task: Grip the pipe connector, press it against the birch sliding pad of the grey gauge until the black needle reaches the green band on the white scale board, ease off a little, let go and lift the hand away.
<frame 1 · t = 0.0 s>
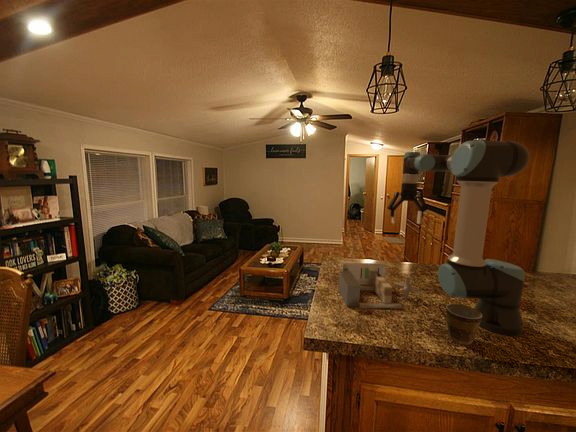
hand: (405, 223, 144), 28 cm above the counter, tool pointing down, fingers open, 13 cm apart
ceramic cup: (455, 337, 92), on the counter
gauge pad: (381, 287, 120), point 4 cm above the counter, slide at 0.0 cm
pipe connector: (406, 298, 119), on the counter
gauge frame: (369, 297, 119), on the counter
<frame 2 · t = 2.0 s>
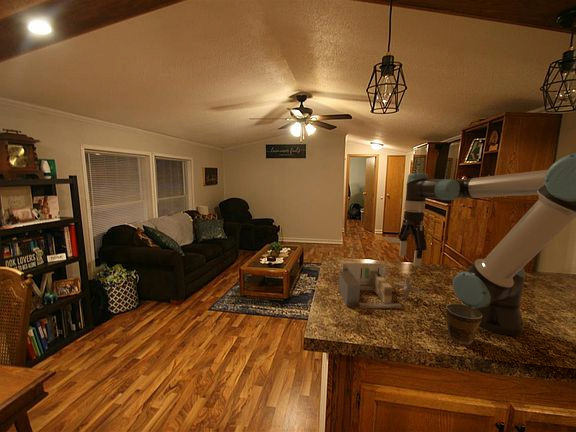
hand: (409, 260, 117), 17 cm above the counter, tool pointing down, fingers open, 13 cm apart
nothing on the counter moved.
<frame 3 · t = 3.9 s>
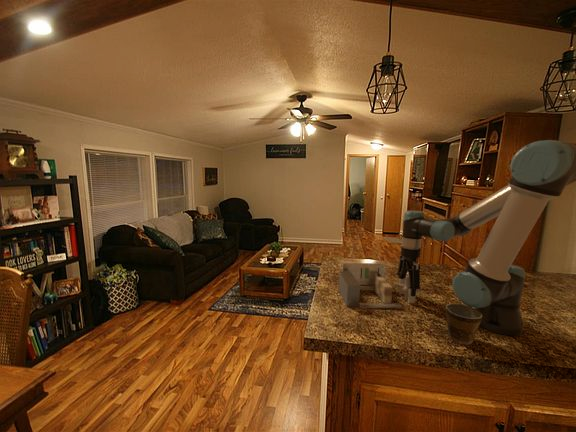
hand: (406, 297, 119), 0 cm above the counter, tool pointing down, fingers closed on pipe connector, 9 cm apart
pipe connector: (406, 298, 119), on the counter, touching gripper
everything else where it was.
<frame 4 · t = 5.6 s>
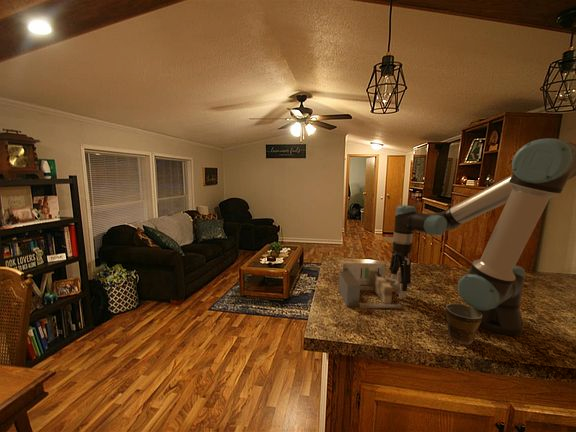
hand: (397, 292, 119), 3 cm above the counter, tool pointing down, fingers closed on pipe connector, 9 cm apart
pipe connector: (397, 293, 119), point 2 cm above the counter, touching gripper
everything else where it was.
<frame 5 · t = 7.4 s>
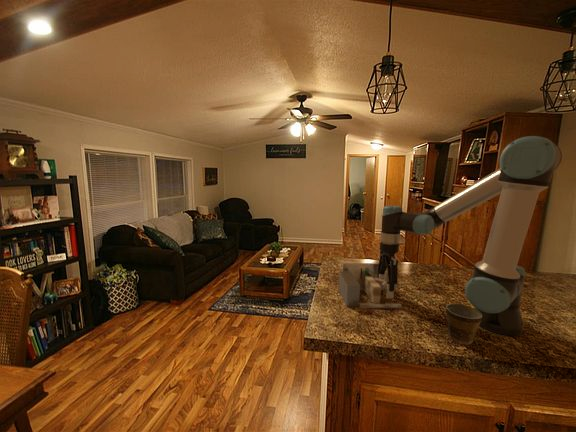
hand: (385, 292, 118), 2 cm above the counter, tool pointing down, fingers closed on pipe connector, 9 cm apart
gauge pad: (370, 287, 120), point 4 cm above the counter, slide at 4.7 cm, touching pipe connector
pipe connector: (385, 294, 119), point 2 cm above the counter, touching gauge pad, gripper
everything else where it was.
when the fingers open (2 cm above the counter, at t = 9.5 s): pipe connector drops 2 cm, on the counter.
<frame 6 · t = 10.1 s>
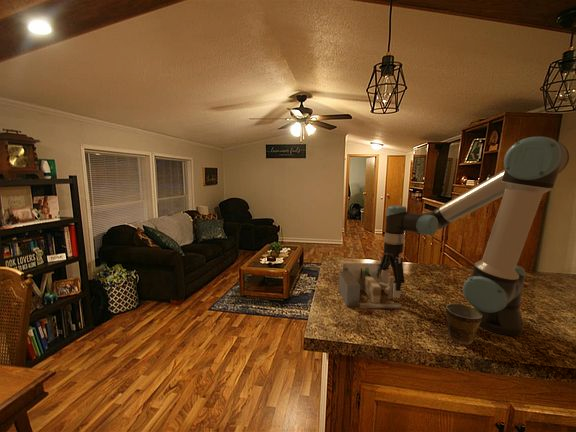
hand: (389, 290, 118), 4 cm above the counter, tool pointing down, fingers open, 13 cm apart
gauge pad: (370, 287, 120), point 4 cm above the counter, slide at 4.7 cm
pipe connector: (389, 298, 119), on the counter
everything else where it was.
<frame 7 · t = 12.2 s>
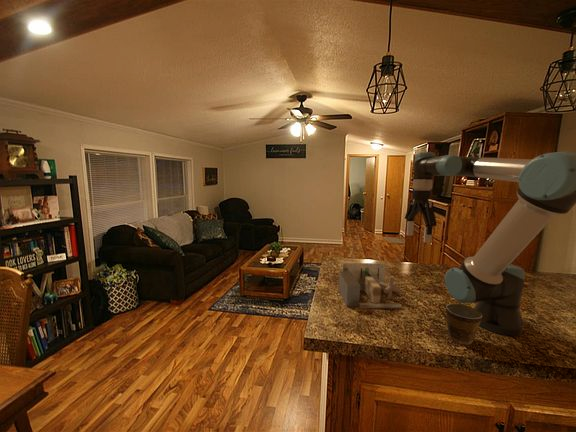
hand: (417, 238, 119), 26 cm above the counter, tool pointing down, fingers open, 13 cm apart
nothing on the counter moved.
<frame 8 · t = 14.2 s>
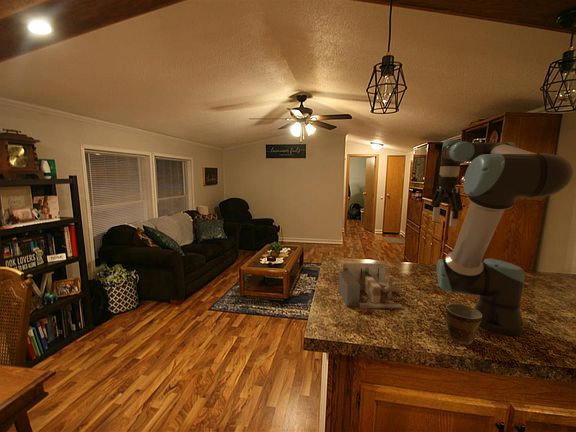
hand: (443, 223, 124), 32 cm above the counter, tool pointing down, fingers open, 13 cm apart
nothing on the counter moved.
at the end: gauge pad slide at 4.7 cm; the gripper is holding nothing; pipe connector inside the target area (0.9 cm from its centre), on the counter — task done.
